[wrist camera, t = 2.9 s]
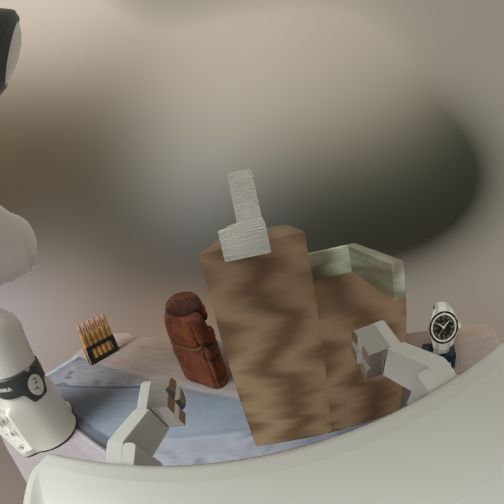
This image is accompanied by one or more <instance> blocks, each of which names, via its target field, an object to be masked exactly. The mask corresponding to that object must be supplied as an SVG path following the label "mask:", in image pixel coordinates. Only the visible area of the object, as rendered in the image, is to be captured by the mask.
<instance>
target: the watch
mask: <svg viewBox="0 0 504 504" xmlns="http://www.w3.org/2000/svg"><path fill="white" fill-rule="evenodd" d="M460 327H461V324H460V323H458V319H457V317H456V316H455V314H454V312H453V309H452V307H449V304H448V302H447V301H445V302H437V303H433V311H432V316H431V319H430V323H429V327H428V332H429V336H430V338H431V342H432V343H431V344H423V346H422V349H424V350H426V351H429V352H431V353H434V354H437V355H439V356H442V357H444V358H445V359H446V360H447V362H448V363H449V364H450V365H451V367H452V368H453V369H454V365H455V359H456V353H455V349H454V345H453V342H454V339H455V337H456V335H457V333H458V328H460Z"/></svg>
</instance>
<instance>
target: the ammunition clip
mask: <svg viewBox="0 0 504 504" xmlns="http://www.w3.org/2000/svg"><path fill="white" fill-rule="evenodd" d="M101 317H102V321H103V324H104V327H103V325H102V323H101V320H100V318H99V317H98V315H96V318H97V323H98V326H99V329H98V327H97V324H96V322H95V320H94V319H93V317H92V324H93V328H94V330H93V328H92V326H91V324H90V322H89V321H88V319H87V325H88V329H89V332H90V334H89V333H88V330H87V328H86V326H85V324H84V322H82V327H83V331H84V333H85V336H84V334H83V332H82V330H81V328H80V326H79V325H78V324H77V329H78V333H79V335H80V339H81V342H82V345H83V348H84V351H85V354H86V356H87V359H88V361H89V364H91V365H93V364H95V363H97V362H99V361H100V360H102V359H104V358H106V357H107V356H109V355H111V354H112V353H114V352H116V351H118V350H119V347H118V345H117V343H116V341H115V338H114V336H113V334H112V333H111V330H110V327H109V325H108V323H107V321H106V318H105V316H104V315H103V313H101ZM94 331H95V332H94Z"/></svg>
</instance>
